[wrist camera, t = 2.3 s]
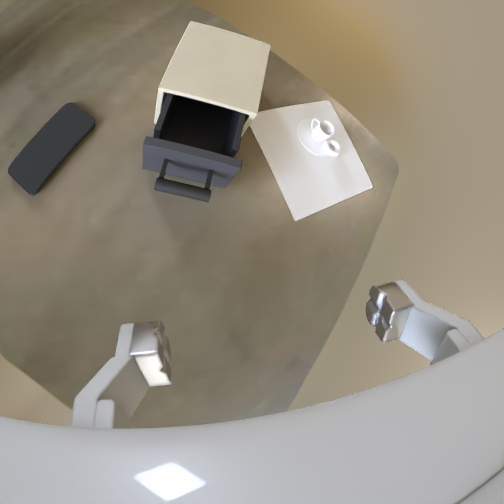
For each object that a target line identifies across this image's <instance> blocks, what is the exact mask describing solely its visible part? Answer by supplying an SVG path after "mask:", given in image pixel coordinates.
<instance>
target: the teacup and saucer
mask: <svg viewBox="0 0 504 504" xmlns="http://www.w3.org/2000/svg"><path fill="white" fill-rule="evenodd" d="M335 132H336V130H335V127H334V125H333V124H332V123H331V122H330V121H328V120H326V119H323V120H320V119H319V118H317V117H306V118H304V119H302V120H301V121H300V122H299V124H298V126H297V135H298V138H299V141H300V142H301V144H302V145H303V146H304V148H305V149H306V150H308V151H309V152H310V153H312V154H313V155H315V156H319V157H327V156H330V157H338V156H340V155H341V154H342V152H343V147H342V145H341V144H340V142H339V141H338V140H336V138H335V135H334V134H335Z"/></svg>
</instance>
